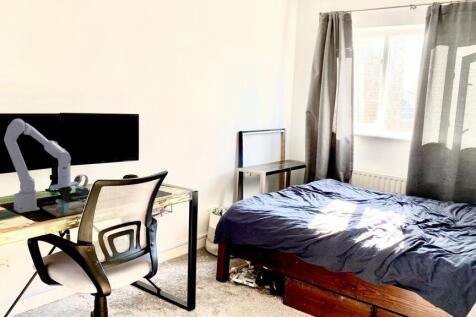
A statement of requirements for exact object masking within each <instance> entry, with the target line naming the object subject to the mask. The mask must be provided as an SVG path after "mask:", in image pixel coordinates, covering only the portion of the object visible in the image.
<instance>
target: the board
mask: <svg viewBox="0 0 476 317" xmlns="http://www.w3.org/2000/svg"><path fill="white" fill-rule="evenodd" d="M79 201H82V199H80V200H77V201H70V202H68V203H74V202H79ZM59 205H60V204H58V203H57V204H53V205H52V204H51V205H47V206H42V207H41V208H42V210H44V211H45V212H47V213H50V214H51V215H53V216H54V217H56V218H58V217H65V216H69V215H74V214H81V213H83V212H82V211H83V207H84V206H83V207H78V208H73V209H69V212H68V213H63V212H62V211H57V210H56V206H59Z"/></svg>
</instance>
